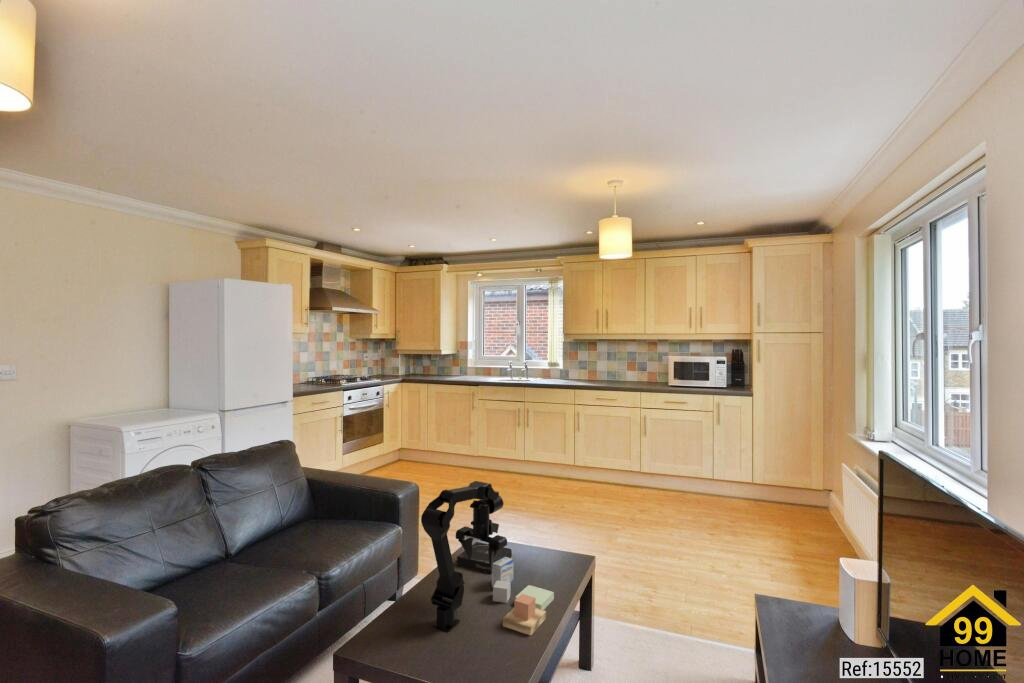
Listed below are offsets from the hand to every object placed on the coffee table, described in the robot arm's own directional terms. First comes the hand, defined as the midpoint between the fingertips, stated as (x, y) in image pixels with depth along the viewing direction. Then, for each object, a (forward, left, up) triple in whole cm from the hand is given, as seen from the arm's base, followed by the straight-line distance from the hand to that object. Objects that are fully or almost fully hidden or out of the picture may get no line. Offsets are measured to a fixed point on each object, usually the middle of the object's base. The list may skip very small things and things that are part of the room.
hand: (480, 562), depth 177 cm
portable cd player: (+26, +15, -14) cm, 33 cm away
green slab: (+8, -17, -13) cm, 23 cm away
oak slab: (-5, -20, -13) cm, 25 cm away
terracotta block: (-5, -20, -10) cm, 23 cm away
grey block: (+4, -6, -13) cm, 15 cm away
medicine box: (+13, -1, -13) cm, 19 cm away
